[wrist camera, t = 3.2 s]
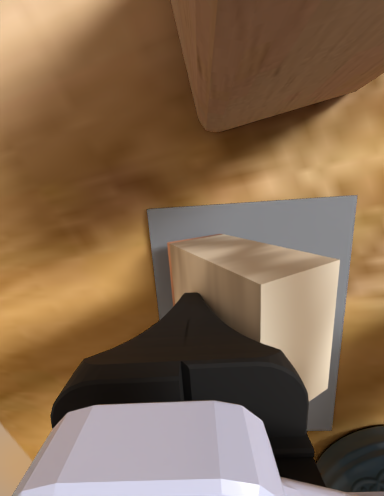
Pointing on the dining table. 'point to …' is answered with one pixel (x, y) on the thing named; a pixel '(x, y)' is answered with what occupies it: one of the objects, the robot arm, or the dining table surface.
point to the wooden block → (275, 54)
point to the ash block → (265, 296)
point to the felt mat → (275, 233)
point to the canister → (355, 462)
